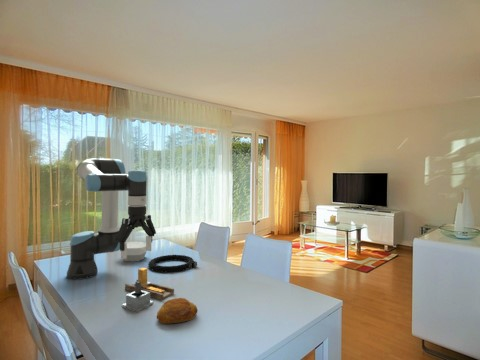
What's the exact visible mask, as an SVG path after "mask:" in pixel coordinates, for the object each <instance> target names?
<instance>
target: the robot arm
mask: <svg viewBox="0 0 480 360" xmlns="http://www.w3.org/2000/svg"><path fill="white" fill-rule="evenodd" d="M76 173H77V176H78V177H79V178H80V179H82V180H84V186H85V189H86V191H87V192H94V193H97V192H101V219H100V220H101V222H100V223H101V225H100V228H99V229H98V230H97V232H95V231H93V230H89V231H88V230H87V231H86V230H85V231H81V232H77V233H75V234H73V235H71V237H70V243H69V245H70V249H69V250H70V259H69V260H70V263H69V265H68V267H67V271H66V278H67V279H69V280H83V279H84V280H85V279H87V278H91V277H94V276H96V275H97V274H98V271H99V270H98V266H97V264H96V260H95V255H99V254H108V253H113V252H118V251H120V250H121V251H120V258H121V259H123V258H124V259H126V258H127V240H128V238H130V237H129V236H130V235H131V233H132V231H133V230H135V228H139V227H141V228H142V230H143V231H144V232H145V234H146V236H145V242H146V250H147V251H148V252H152V244H153V237H155V235H156V234H157V230H156V228H155V226H154V223H153V221H152V215H151V214H147V186H148V185H147V183H148V177H147V176H148V175H147V171H146V170H144V169H143V170H142V169H141V170H139V169H138V170H137V169H130V170H129V171H128V173H126V168H125V164H124V162H123V160H122V159H117V158H95V157H94V158H87V159H85V160H83V161H81V162H80V163H79V164H78V165H77V167H76ZM120 191H123V192H124V191H125V192H126V191H127V196H128V197H127V205H128V206H127V214H128V218H122V219H121V225H120V227H119V226H118V225H119V224H118V220H119V218H118V217H119V192H120ZM147 251H146V252H147ZM124 259H123V260H124Z"/></svg>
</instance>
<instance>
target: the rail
mask: <svg viewBox="0 0 480 360" xmlns="http://www.w3.org/2000/svg"><path fill="white" fill-rule="evenodd" d="M137 281H138V279H136V282H137ZM150 283H151V287H154V288H158V289H161V290H164V292H163V293H158V292H155V291H151V290H147V289H144V288H141V290H143V291H147V292H150V298H153V297H154V298H153V299H157V300H161V301H163V300H165V299H167V298H168V297H171V296H172V295H174V294H175V289H174V288H173V287H169V286H165V285H162V284H157V283H154V282H150ZM134 284H135V283H132V284H129V283H126V284H124V290H127V291H129V292H134V291H135V286H134Z"/></svg>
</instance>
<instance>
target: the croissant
mask: <svg viewBox="0 0 480 360" xmlns="http://www.w3.org/2000/svg"><path fill="white" fill-rule="evenodd" d="M197 314H198V307H197V305H196V304H194V302H192V301H189V300H188V299H186V298H184V297H178V298H177V297H176V298H172V299H168V300H166V301H165V302H164V303H163V304H162V305H161V306H160V308H159V309H158V311H157V313H156V319H157V320H158V321H159V323H161V324H163V325H164V324H177V323H184V322H188V321H191V320H193V319H194V318H196V316H197Z"/></svg>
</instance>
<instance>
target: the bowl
mask: <svg viewBox="0 0 480 360" xmlns="http://www.w3.org/2000/svg"><path fill="white" fill-rule="evenodd" d="M126 243H127V258H126V259H124V258H122V259H123V261H126V262H140V261H142V260H143V259H144V258H145V257H146V254H147V250H146V241H128V242H127V241H126ZM119 251H120V252H121V250H119Z"/></svg>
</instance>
